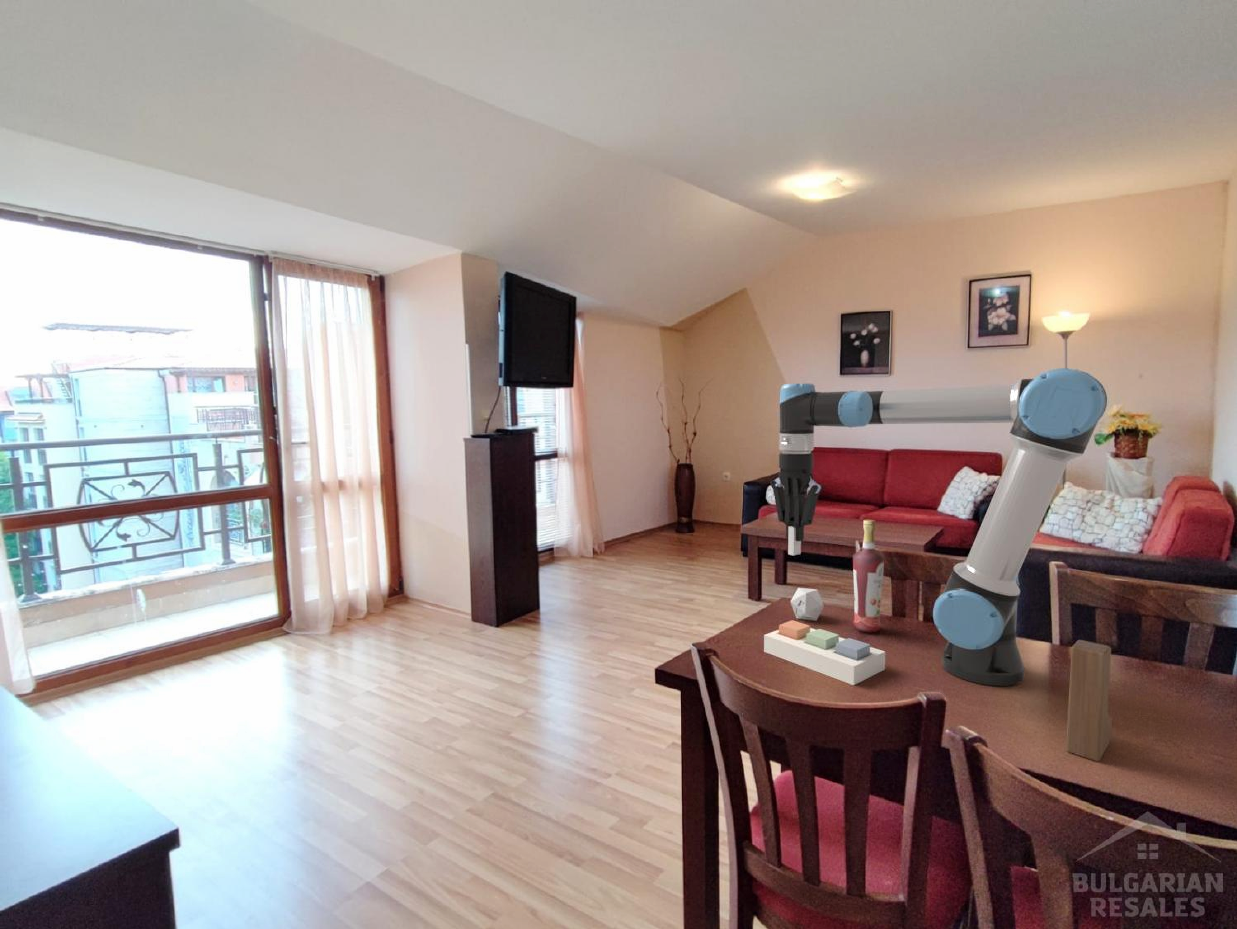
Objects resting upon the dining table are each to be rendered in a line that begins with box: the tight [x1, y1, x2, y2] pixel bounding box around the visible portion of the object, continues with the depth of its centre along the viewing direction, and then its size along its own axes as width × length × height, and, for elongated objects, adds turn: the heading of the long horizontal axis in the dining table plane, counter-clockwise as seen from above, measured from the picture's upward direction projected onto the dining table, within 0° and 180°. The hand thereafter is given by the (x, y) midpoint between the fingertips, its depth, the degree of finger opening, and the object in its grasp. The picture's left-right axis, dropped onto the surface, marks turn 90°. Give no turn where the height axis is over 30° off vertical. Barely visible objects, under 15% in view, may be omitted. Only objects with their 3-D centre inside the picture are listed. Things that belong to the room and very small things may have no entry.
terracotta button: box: [778, 619, 811, 640], centre depth 147 cm, size 5×5×3 cm
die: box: [790, 587, 824, 622], centre depth 169 cm, size 8×9×10 cm
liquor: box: [852, 519, 885, 634], centre depth 159 cm, size 7×7×28 cm
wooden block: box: [1065, 639, 1113, 762], centre depth 104 cm, size 9×4×18 cm, turn 133°
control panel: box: [763, 627, 886, 686], centre depth 141 cm, size 23×12×4 cm, turn 38°
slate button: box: [836, 637, 871, 661], centre depth 135 cm, size 5×5×3 cm
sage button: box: [806, 628, 840, 650], centre depth 141 cm, size 5×5×3 cm
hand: (794, 553), depth 145 cm, fingers closed
